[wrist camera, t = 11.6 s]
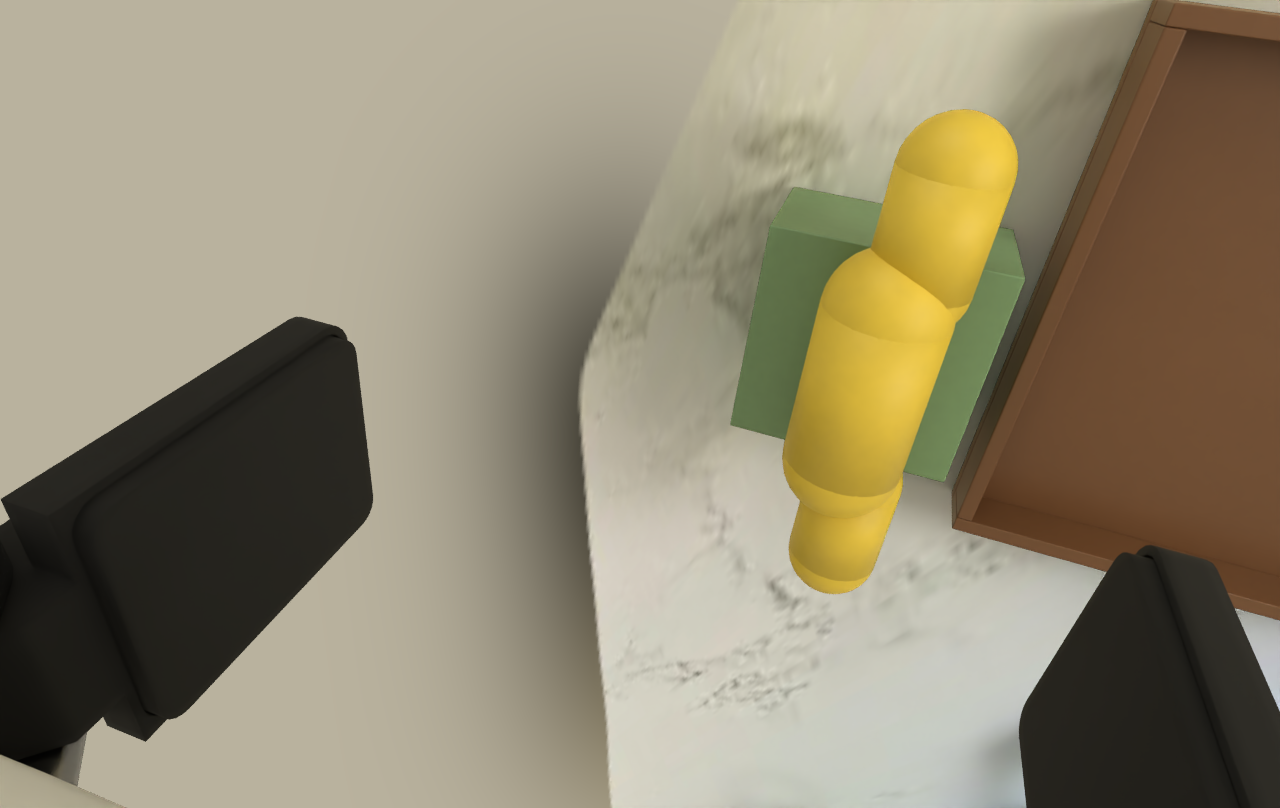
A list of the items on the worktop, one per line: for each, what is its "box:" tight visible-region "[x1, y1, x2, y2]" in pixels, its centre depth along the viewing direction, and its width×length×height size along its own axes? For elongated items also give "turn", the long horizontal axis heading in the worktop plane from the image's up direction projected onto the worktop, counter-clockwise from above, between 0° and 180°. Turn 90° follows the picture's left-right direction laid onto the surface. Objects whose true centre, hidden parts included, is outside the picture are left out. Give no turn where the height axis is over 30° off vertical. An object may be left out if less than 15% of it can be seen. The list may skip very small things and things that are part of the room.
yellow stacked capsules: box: [782, 109, 1018, 594], centre depth 25 cm, size 17×4×4 cm, turn 174°
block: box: [730, 187, 1025, 482], centre depth 29 cm, size 8×8×5 cm
